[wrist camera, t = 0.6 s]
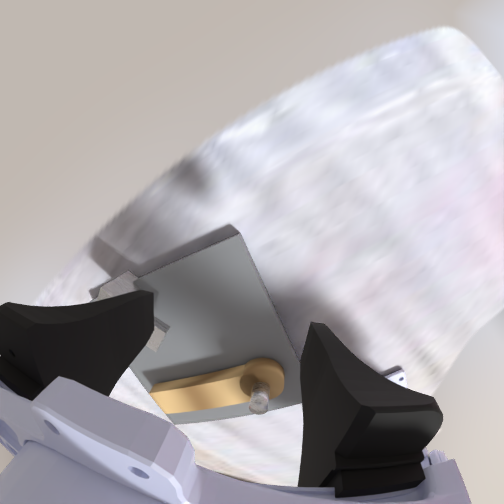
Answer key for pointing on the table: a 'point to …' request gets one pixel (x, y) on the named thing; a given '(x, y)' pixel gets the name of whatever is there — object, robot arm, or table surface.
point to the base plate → (215, 325)
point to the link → (218, 387)
